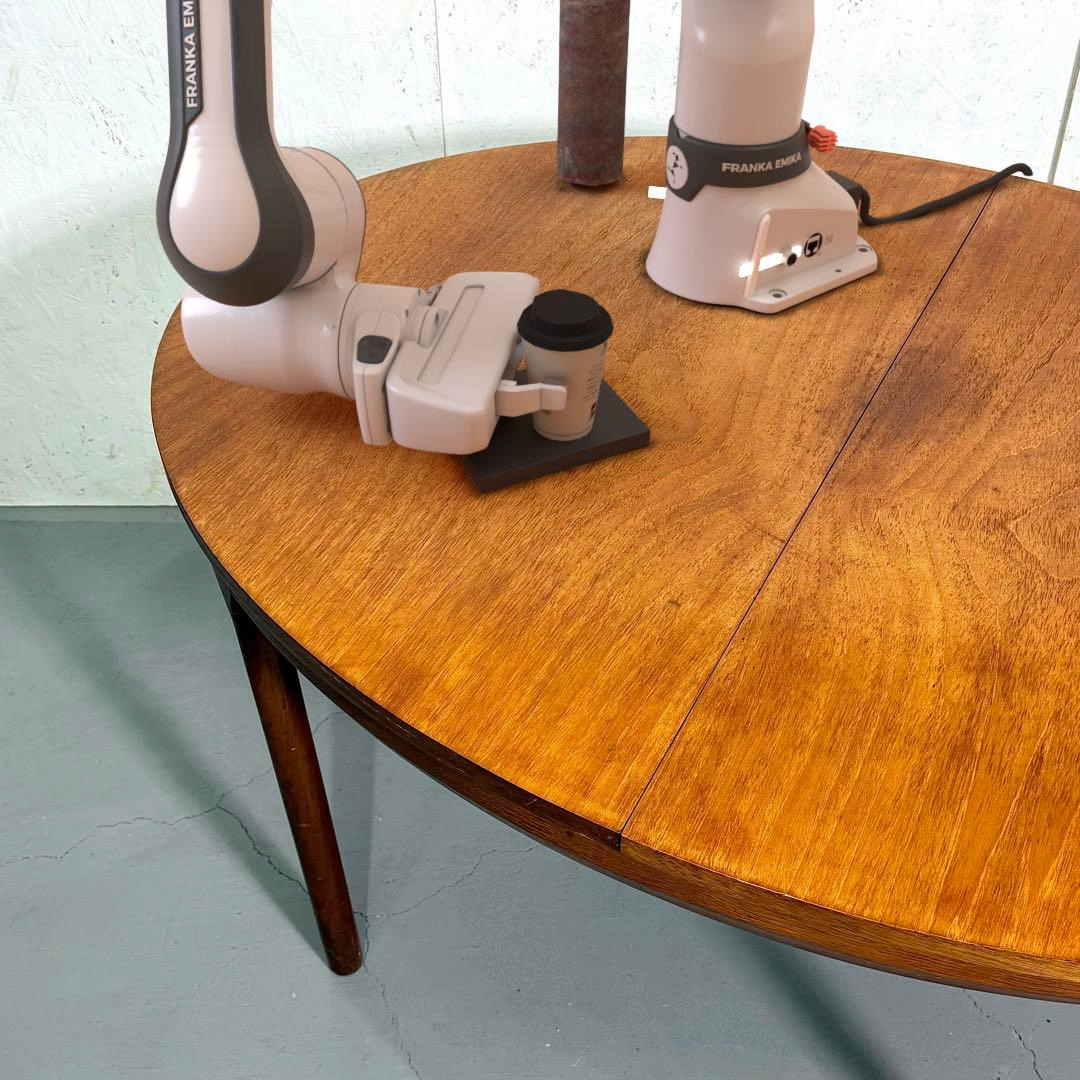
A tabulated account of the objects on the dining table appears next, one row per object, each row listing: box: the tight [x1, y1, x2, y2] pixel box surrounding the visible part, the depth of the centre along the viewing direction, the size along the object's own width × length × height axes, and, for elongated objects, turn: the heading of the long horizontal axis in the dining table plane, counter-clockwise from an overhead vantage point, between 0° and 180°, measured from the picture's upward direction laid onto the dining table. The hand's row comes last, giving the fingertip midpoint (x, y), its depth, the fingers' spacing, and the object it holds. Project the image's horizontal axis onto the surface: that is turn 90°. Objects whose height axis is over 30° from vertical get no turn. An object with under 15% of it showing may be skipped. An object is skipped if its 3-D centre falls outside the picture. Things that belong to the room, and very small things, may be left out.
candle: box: [556, 0, 631, 187], centre depth 112 cm, size 8×7×20 cm
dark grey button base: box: [455, 368, 651, 494], centre depth 83 cm, size 14×12×3 cm
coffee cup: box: [517, 288, 615, 441], centre depth 78 cm, size 7×7×10 cm
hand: (577, 364), depth 78 cm, fingers closed on coffee cup, 7 cm apart
